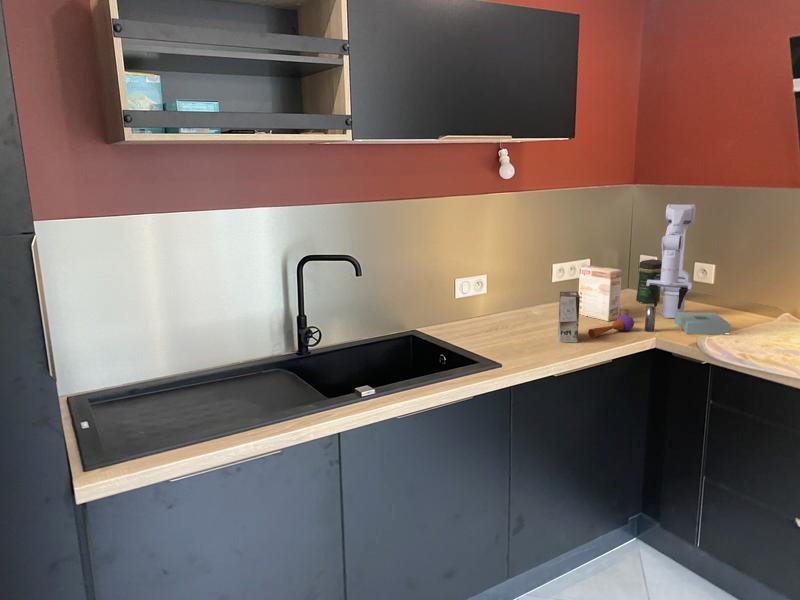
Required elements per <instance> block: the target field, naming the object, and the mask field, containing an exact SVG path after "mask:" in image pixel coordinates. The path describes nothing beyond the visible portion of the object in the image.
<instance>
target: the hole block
mask: <svg viewBox="0 0 800 600" xmlns="http://www.w3.org/2000/svg"><path fill="white" fill-rule="evenodd" d="M674 323H675V325H676V326H678V327H679V328H680V327H681V328H682V329H683V330H684V331H685V332H686V333H685V332H684V331H683V330H682V329H681V328H680V329H681V330H682V331H683V332H684V333H685V334H687V335H709V336H711V335H719V336H720V334H725V333H729V334H730V329H731V323H729V321H727V320H726V319H724V318H723V317H722V316H720V315H719V314H717V313H716V312H688V311H687V312H685V311H684V312H676V313H675V318H674Z"/></svg>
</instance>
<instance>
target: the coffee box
mask: <svg viewBox="0 0 800 600" xmlns="http://www.w3.org/2000/svg"><path fill="white" fill-rule="evenodd" d="M558 300H559V301H558V303H559V304H558V326H557V327H558V330H557V331H558V332H557V333H558V334H557V337H558V342H559V343H575V344H576V343H578V341H579V338H578V336H579V319H580V315H579V304H580V296H579V291H559V298H558Z"/></svg>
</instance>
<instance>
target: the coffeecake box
mask: <svg viewBox="0 0 800 600" xmlns="http://www.w3.org/2000/svg"><path fill="white" fill-rule="evenodd" d="M622 271H623V270H622V269H618V268H612V267H604V266H599V265H598V266H597V265H585V266H584V265H583V266H580V267H579V281H578V294H579V296H580V304H579V314H581V315H580V316H583V315H584V316H585V317H587V316H588V317H587V318H593V319H597V320H600V321H606V322H611V320H612V321H616V319H618V318H619V313H620V305H621V288H622Z"/></svg>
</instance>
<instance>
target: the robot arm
mask: <svg viewBox="0 0 800 600" xmlns="http://www.w3.org/2000/svg"><path fill="white" fill-rule="evenodd" d="M696 210H697V209H696V205H695V203H693V204H676V203H675V204H674V203H673V204H672V203H668V204H667V205H666V210H665V220H666V223H667V227H666V232H665V235H663V236H662V238H661V256H662V257H661V262H662V268H661V276H660V280H647V286H650V287H649V290H650V292H651V294H652V297H653V301H654V303H653V306H654V307H656V308H658V303H659V302H658V289H659V286H660V291H661V292H662V293H664V295H663V297H662V307H661V309H662V310H659V314H660V315H661V316H662V317H664V318H665V319H675V313H676V312H685V300H686V298H685V297H686V295H687V294H689V293H690V290H692V288H693V282H691V275H690V272H688V271H686V270H685V269H684V261H685V250H686V238H687V232H688V229H689V227H692V226H694V224H695V219H696V212H697V211H696Z"/></svg>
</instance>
